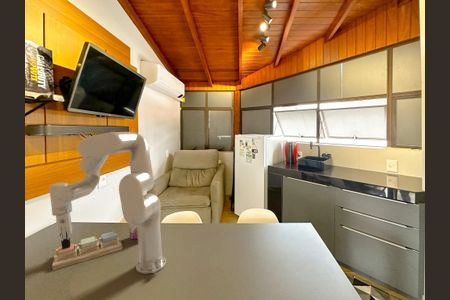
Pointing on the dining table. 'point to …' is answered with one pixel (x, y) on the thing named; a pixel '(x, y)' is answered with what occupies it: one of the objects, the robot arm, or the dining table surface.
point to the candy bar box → (133, 232)
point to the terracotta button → (66, 249)
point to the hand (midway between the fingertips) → (66, 247)
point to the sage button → (88, 242)
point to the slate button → (108, 237)
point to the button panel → (86, 253)
